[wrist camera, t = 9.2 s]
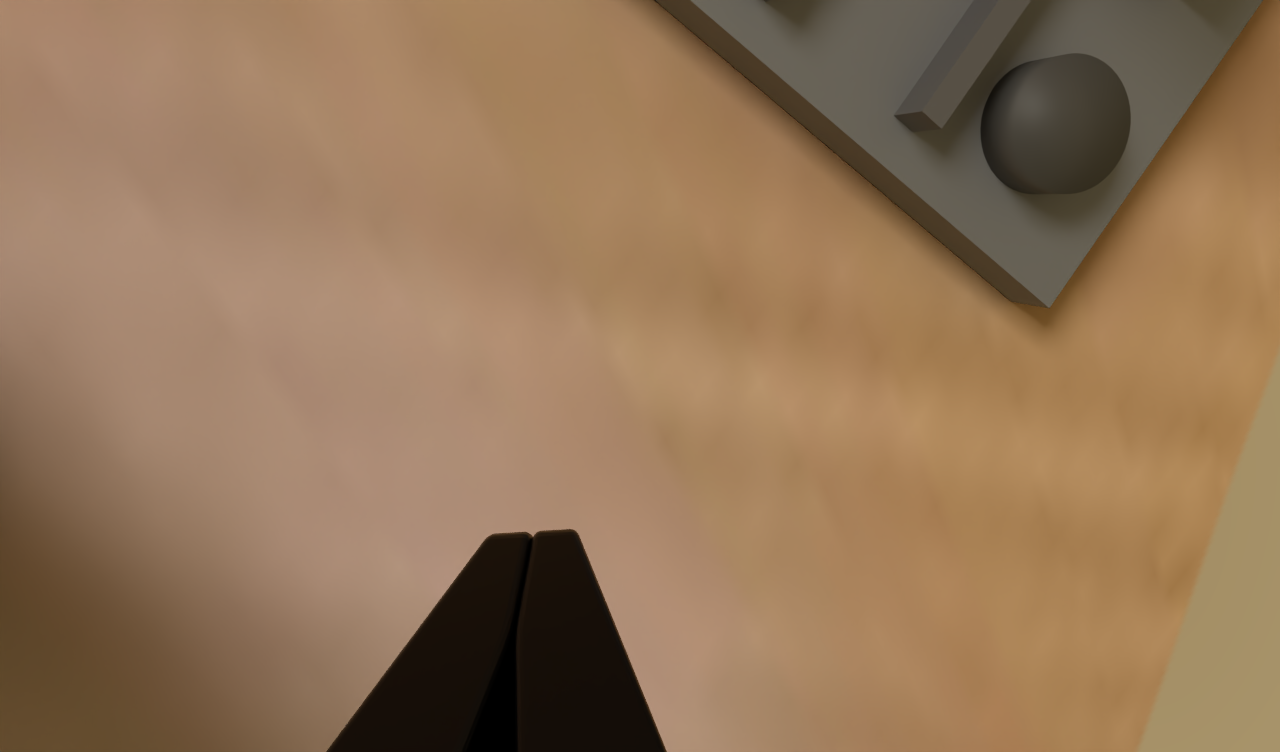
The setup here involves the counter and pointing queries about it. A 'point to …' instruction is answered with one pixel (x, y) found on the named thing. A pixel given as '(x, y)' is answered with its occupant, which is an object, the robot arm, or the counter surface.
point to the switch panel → (985, 107)
